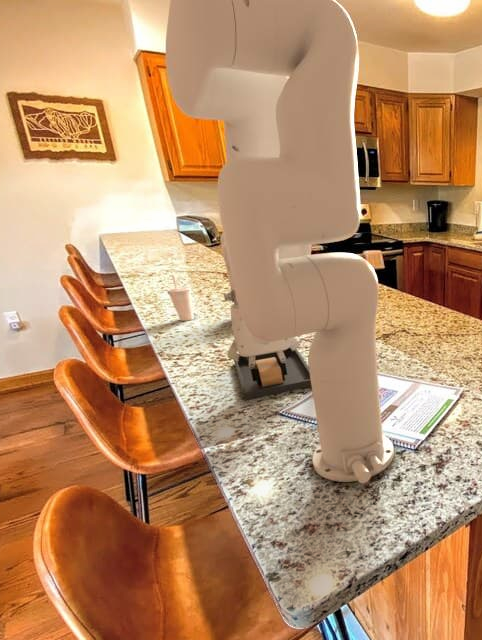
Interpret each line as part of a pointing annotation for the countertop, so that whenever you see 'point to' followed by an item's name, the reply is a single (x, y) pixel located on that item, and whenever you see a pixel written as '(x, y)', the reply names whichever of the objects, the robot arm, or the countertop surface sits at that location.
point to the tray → (293, 381)
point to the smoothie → (182, 301)
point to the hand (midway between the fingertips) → (270, 380)
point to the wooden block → (269, 372)
